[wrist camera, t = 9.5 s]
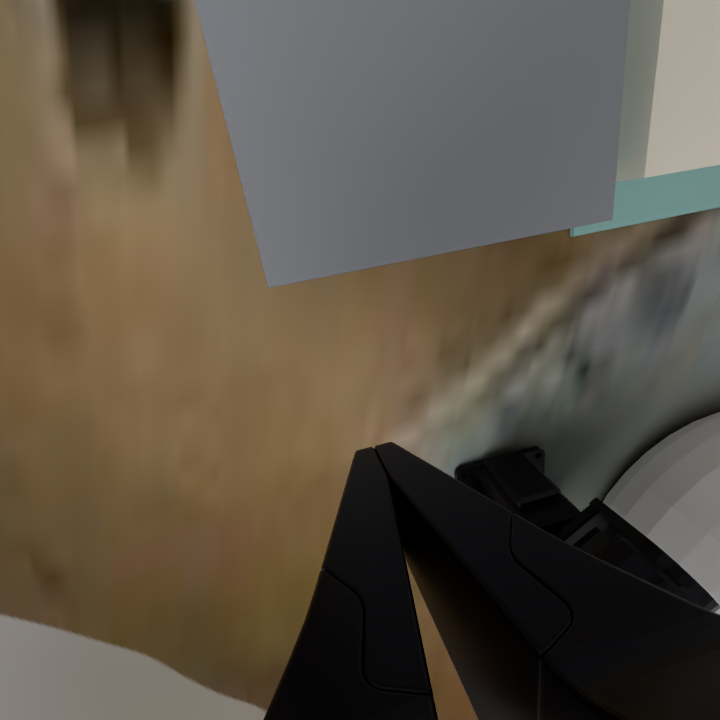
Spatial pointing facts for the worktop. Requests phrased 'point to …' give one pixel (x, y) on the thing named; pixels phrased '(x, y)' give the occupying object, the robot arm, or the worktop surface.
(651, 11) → the block
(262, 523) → the worktop surface
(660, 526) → the pot
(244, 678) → the worktop surface
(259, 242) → the deck
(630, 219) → the mat
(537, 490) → the robot arm
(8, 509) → the worktop surface
